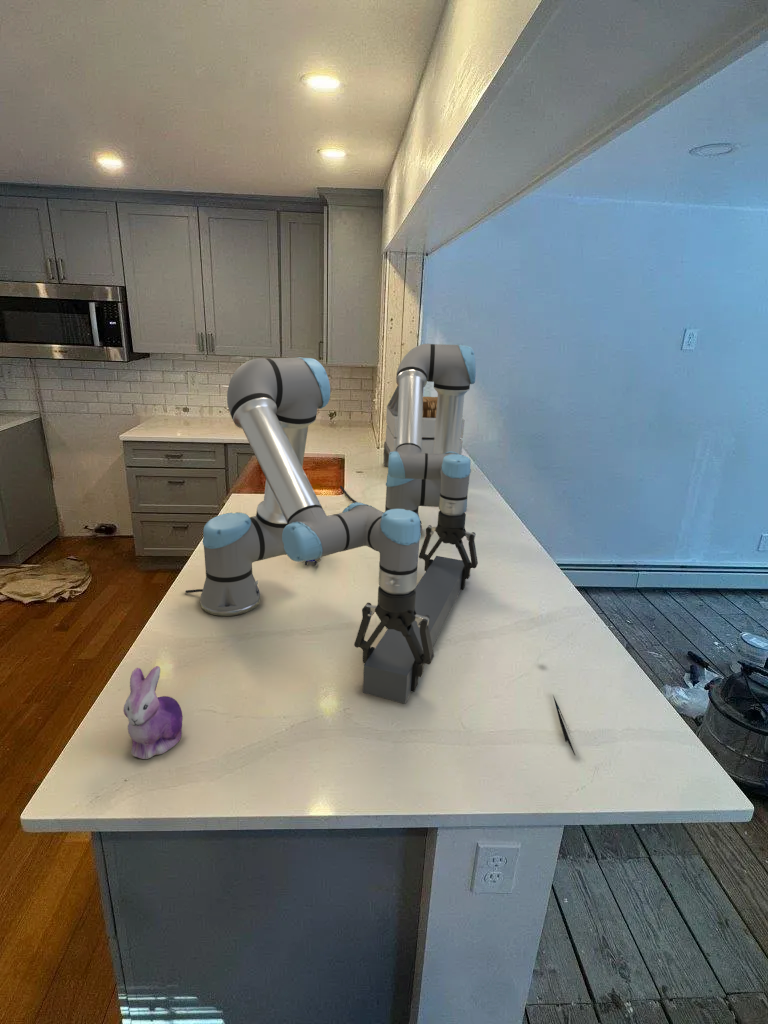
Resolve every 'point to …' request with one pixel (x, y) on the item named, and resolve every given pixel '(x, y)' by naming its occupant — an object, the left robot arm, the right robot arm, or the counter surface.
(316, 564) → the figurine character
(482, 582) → the counter surface
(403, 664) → the thick board
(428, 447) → the white slatted crate
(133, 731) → the figurine
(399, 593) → the left robot arm
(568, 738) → the feather
